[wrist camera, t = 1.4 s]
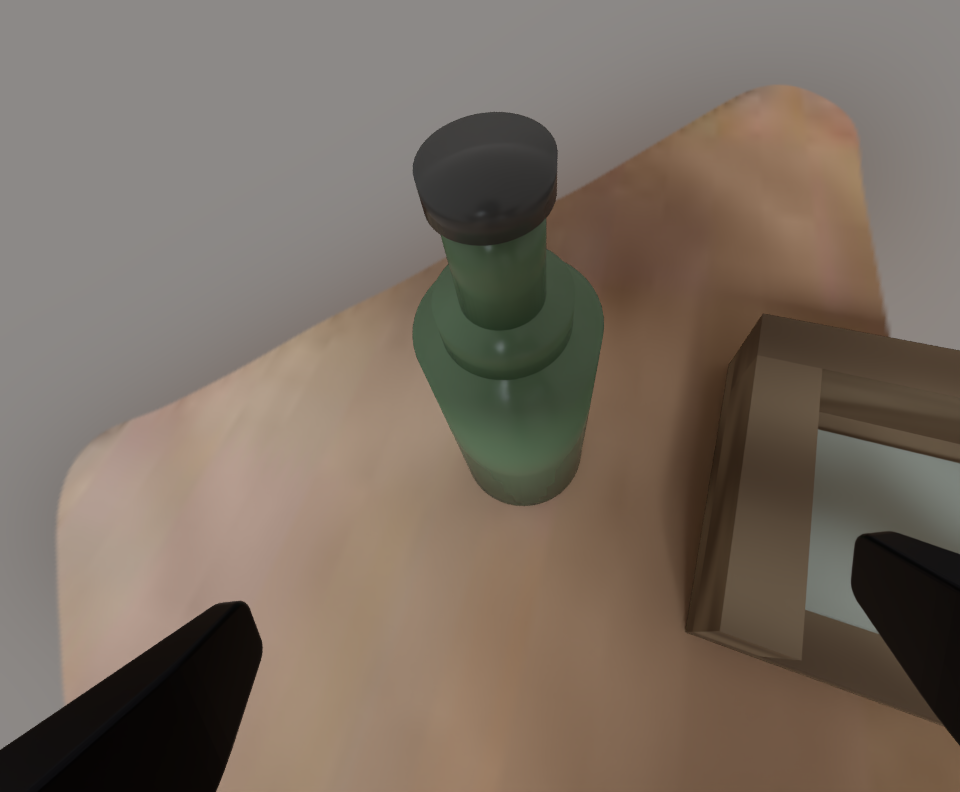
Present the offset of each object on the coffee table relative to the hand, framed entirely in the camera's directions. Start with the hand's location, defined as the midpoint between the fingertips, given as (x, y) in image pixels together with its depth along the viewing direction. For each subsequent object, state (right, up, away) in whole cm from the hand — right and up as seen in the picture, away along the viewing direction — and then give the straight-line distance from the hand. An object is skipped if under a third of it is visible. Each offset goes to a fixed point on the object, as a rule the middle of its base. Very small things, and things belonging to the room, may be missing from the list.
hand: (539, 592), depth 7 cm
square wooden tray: (+14, -2, +11) cm, 19 cm away
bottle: (+1, 0, +15) cm, 15 cm away
